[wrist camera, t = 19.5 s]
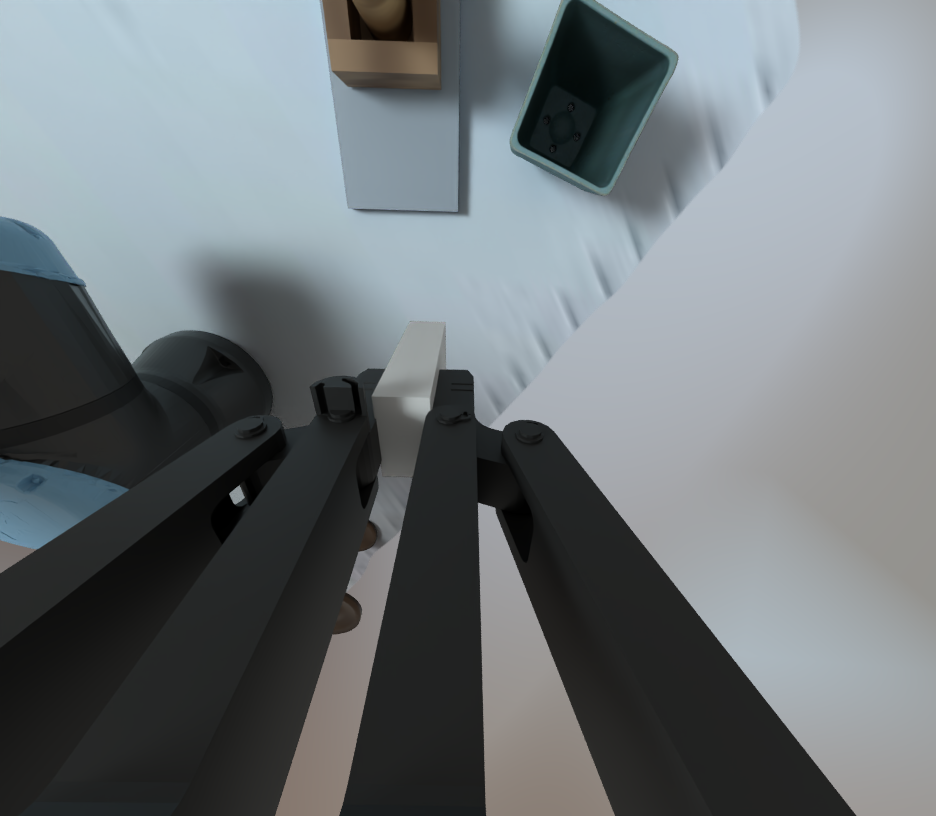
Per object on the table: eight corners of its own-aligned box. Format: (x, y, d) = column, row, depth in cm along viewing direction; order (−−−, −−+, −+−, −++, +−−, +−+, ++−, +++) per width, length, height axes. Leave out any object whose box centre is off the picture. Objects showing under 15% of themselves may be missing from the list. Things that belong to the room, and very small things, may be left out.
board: (351, 208, 35) (338, 208, 31) (312, -90, 25) (287, -137, 22) (458, 211, 35) (456, 212, 31) (461, -84, 25) (459, -130, 22)
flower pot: (541, 40, 28) (568, -21, 21) (629, 93, 30) (683, 54, 22) (498, 159, 33) (507, 145, 25) (576, 200, 34) (607, 198, 27)
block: (347, 86, 29) (331, 70, 25) (330, -61, 25) (308, -103, 21) (441, 89, 29) (437, 74, 26) (439, -56, 25) (435, -98, 21)
